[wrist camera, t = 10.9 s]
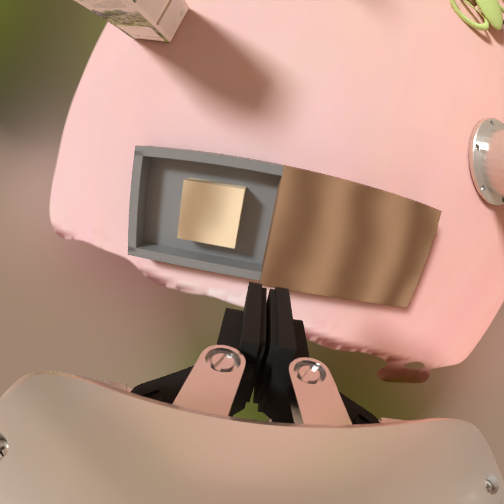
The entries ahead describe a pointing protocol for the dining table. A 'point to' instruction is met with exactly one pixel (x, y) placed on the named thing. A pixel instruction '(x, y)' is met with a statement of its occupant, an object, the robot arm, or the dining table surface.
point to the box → (169, 201)
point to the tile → (210, 212)
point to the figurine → (488, 7)
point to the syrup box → (141, 16)
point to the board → (346, 239)
